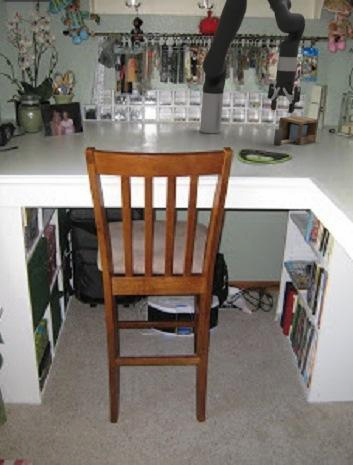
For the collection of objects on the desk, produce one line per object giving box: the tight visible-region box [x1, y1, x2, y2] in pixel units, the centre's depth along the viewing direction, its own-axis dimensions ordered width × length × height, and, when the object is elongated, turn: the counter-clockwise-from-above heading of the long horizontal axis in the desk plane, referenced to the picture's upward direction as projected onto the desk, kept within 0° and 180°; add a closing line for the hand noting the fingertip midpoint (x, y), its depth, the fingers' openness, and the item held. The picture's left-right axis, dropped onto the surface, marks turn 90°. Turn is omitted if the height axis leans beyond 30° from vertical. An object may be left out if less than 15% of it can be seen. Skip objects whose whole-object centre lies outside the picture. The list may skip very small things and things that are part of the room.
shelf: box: [278, 115, 319, 146], centre depth 201 cm, size 12×11×10 cm
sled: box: [273, 123, 308, 146], centre depth 198 cm, size 18×5×7 cm, turn 130°
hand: (281, 111), depth 190 cm, fingers open, 8 cm apart
